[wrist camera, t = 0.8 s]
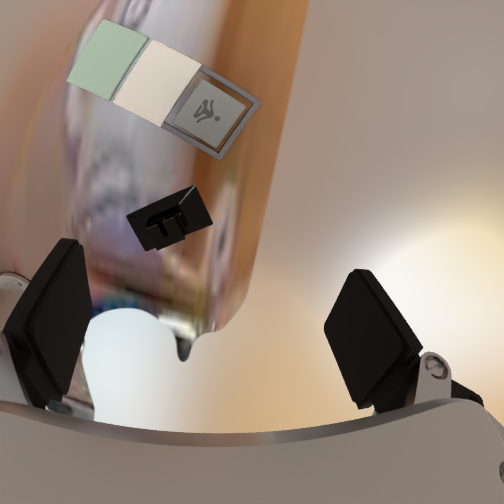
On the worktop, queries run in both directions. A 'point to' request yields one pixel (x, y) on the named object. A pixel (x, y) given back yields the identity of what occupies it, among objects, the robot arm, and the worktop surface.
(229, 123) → the dice cube
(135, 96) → the game board
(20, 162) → the worktop surface
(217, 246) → the worktop surface
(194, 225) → the black angular block
